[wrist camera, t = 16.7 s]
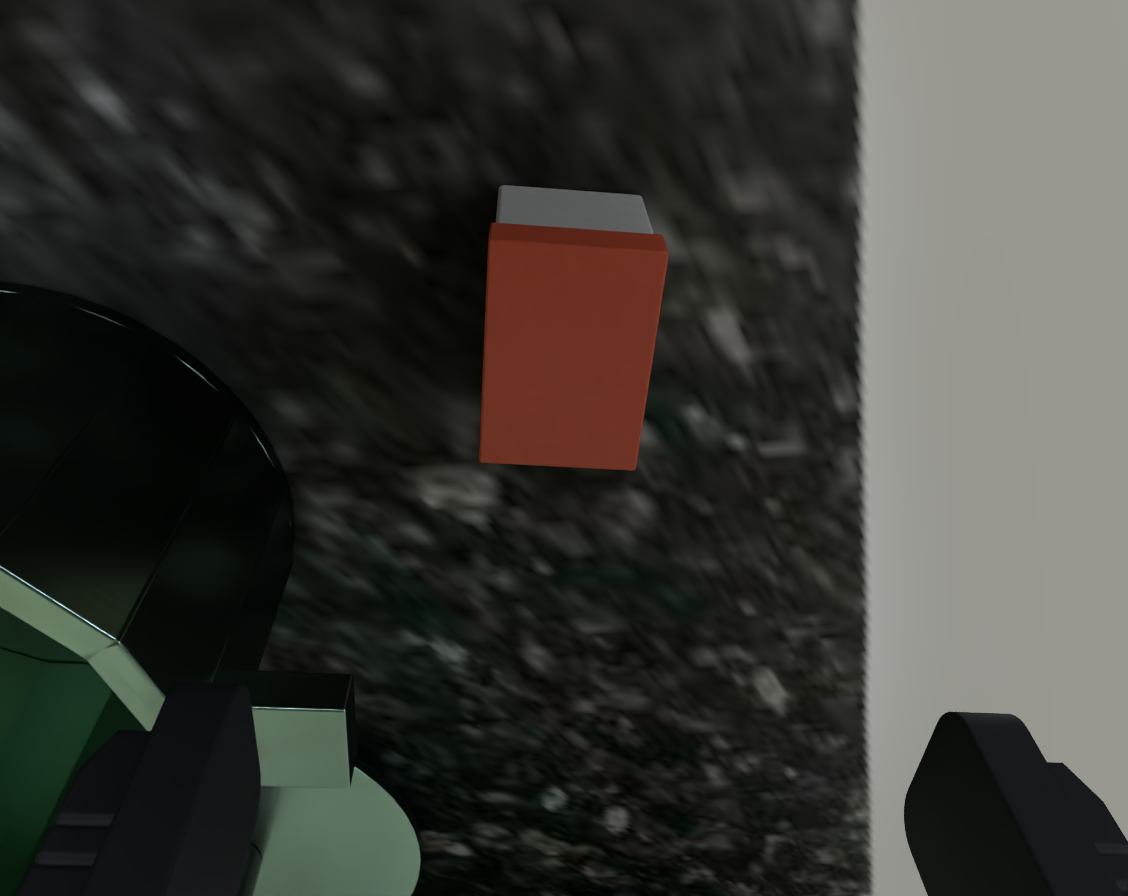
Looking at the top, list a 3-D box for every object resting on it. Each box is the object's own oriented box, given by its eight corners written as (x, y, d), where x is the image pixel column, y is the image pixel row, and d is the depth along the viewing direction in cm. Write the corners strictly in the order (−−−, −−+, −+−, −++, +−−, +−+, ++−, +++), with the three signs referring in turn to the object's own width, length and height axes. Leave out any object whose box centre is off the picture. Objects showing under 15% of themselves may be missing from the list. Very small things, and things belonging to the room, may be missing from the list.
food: (494, 178, 20) (488, 239, 17) (647, 189, 20) (669, 252, 17) (485, 378, 23) (478, 462, 20) (621, 386, 23) (635, 471, 20)
